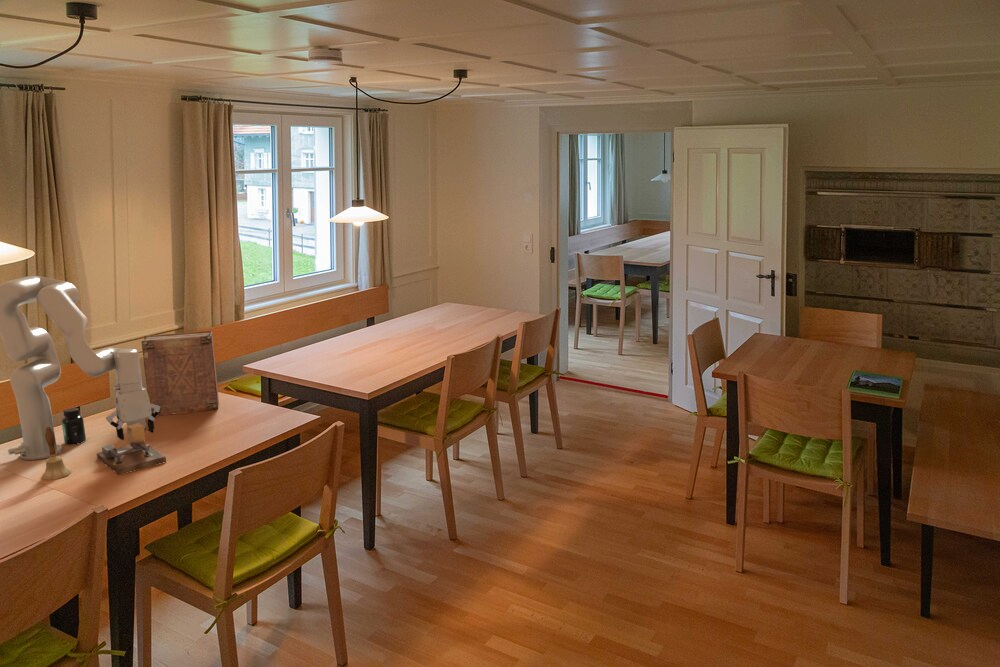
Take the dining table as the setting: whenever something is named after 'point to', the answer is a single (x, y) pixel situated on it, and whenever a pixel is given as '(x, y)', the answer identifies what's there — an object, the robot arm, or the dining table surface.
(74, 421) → the supplement bottle
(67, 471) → the hand bell
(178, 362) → the book
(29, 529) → the dining table surface
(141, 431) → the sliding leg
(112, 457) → the gauge plate
